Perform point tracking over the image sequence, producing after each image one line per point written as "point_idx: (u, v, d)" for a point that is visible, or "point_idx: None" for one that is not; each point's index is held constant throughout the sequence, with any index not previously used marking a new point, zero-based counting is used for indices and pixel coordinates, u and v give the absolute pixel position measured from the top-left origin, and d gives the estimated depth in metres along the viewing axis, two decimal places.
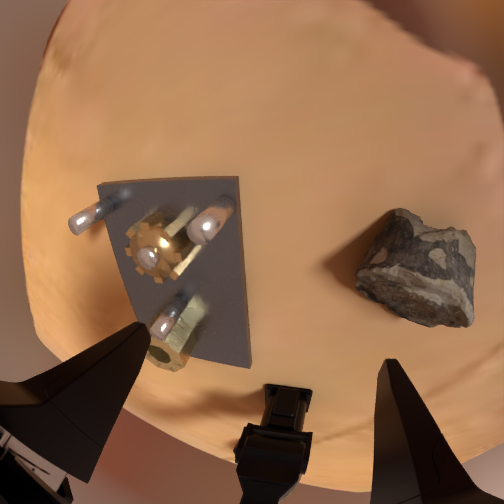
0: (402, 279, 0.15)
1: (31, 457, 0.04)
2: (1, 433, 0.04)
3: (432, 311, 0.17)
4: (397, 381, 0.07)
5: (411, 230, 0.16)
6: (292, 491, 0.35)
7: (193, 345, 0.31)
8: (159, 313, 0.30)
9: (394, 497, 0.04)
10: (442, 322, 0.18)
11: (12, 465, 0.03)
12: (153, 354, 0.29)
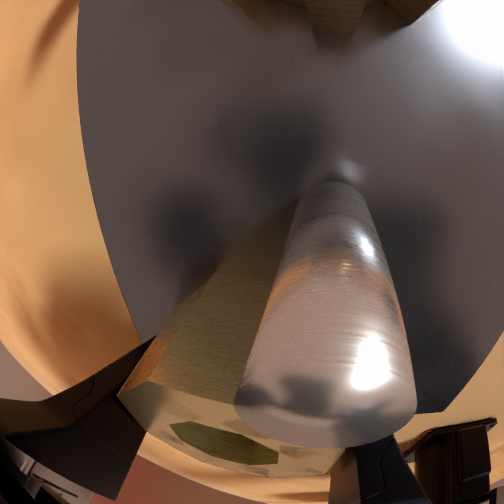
0: None
1: (57, 481, 0.04)
2: (24, 459, 0.03)
3: None
4: None
5: None
6: None
7: None
8: (218, 279, 0.08)
9: (343, 500, 0.04)
10: None
11: (38, 492, 0.03)
12: (194, 437, 0.07)
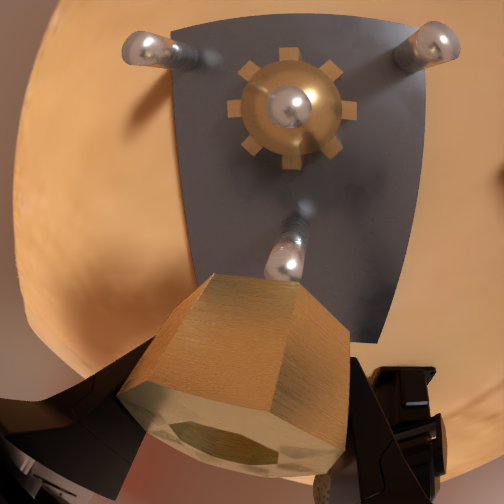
0: None
1: (57, 481, 0.04)
2: (24, 459, 0.03)
3: None
4: (353, 380, 0.07)
5: None
6: None
7: None
8: (217, 279, 0.08)
9: (343, 500, 0.04)
10: None
11: (38, 492, 0.03)
12: (194, 437, 0.07)
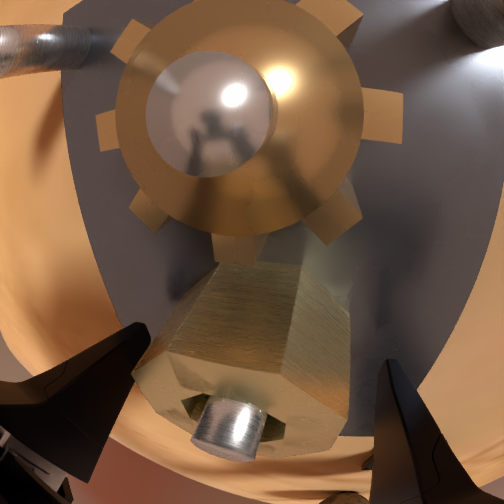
0: None
1: (31, 457, 0.04)
2: (1, 433, 0.04)
3: None
4: (397, 381, 0.07)
5: None
6: None
7: None
8: (227, 263, 0.09)
9: (394, 497, 0.04)
10: None
11: (12, 465, 0.03)
12: None
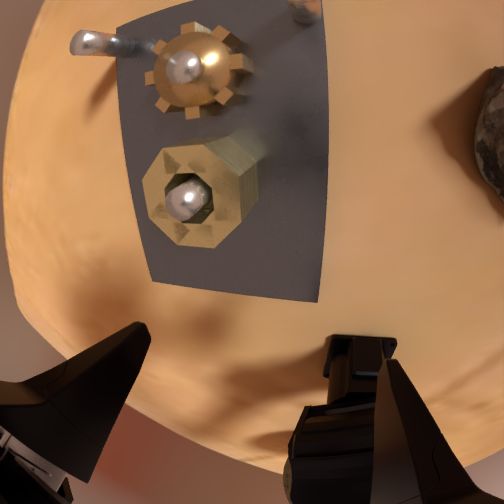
0: None
1: (31, 457, 0.04)
2: (1, 433, 0.04)
3: None
4: (397, 381, 0.07)
5: None
6: None
7: (254, 195, 0.17)
8: (195, 138, 0.17)
9: (394, 497, 0.04)
10: None
11: (12, 465, 0.03)
12: None
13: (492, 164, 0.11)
